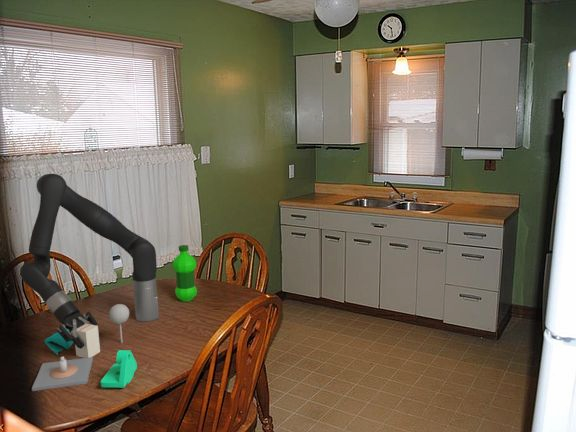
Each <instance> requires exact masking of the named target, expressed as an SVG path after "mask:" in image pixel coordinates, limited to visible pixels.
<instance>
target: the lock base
mask: <svg viewBox="0 0 576 432" xmlns="http://www.w3.org/2000/svg"><path fill="white" fill-rule="evenodd" d="M93 358H94V356H93V357H90V358H83V357H81V358H75V359H68V360H67V358H65V356H60V358H59V360H58V361H51V362H44V363H43V362H42V365H41V366H40V368H39V371H38V373H37V374H36V375H37V376H36V378H35V379H34V382H33V384H32V387H31V391H32V392H36V391H43V390H50V389H57V388H59V389H60V388H66V387H73V386H81V385H86V384H88V383H89V382H88V381H89V377H90V373H91V369H92V365H93V361H94V359H93Z"/></svg>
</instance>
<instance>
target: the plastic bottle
mask: <svg viewBox="0 0 576 432" xmlns="http://www.w3.org/2000/svg"><path fill="white" fill-rule="evenodd" d="M178 251H179V255H177V256H176V257H175V258H174V259H173V260H172V268H173V270H174V272H175V274H176V275H175V276H176V287H175V290H174V293H175V296H176V298H177V300H180V301H181V302H190V301H192V300H193V299H194V298H195V297H196V296H197V294H198V289H197V287H196V285H195V272H194V271H195V270H196V269H197V261H196V260H195V259H196V258H195V257H194V256H193V255H191V254H189V253H188V251H189V245H187V244H182V245H179V246H178Z"/></svg>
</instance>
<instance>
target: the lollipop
mask: <svg viewBox="0 0 576 432" xmlns="http://www.w3.org/2000/svg"><path fill="white" fill-rule="evenodd" d="M108 317H109V319H110V321H111V322H113V324H117V325H119V336H120V344H123V342H124V341H123V333H122V332H123V331H122V329H123V328H122V324H124V323H125V322H126V321H127V320H128V319H129V317H130V309H129V308H128V307H127V306H126V304H122V303H117V304H113V306H112V307H111V308H110V310H109V312H108Z"/></svg>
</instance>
